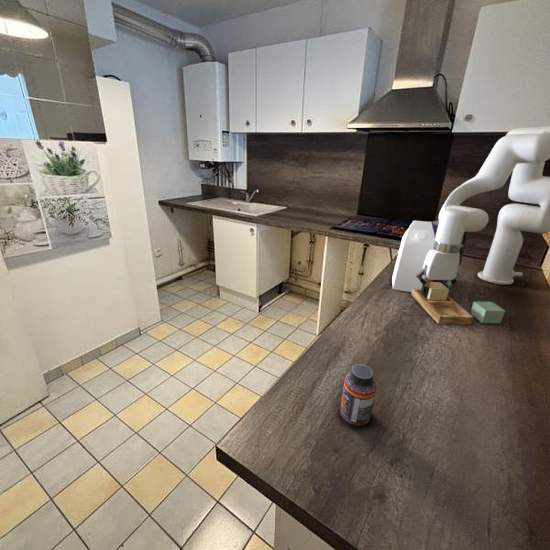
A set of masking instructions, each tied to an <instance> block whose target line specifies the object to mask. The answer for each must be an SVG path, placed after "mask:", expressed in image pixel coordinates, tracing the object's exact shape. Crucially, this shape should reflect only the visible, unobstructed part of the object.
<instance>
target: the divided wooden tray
mask: <svg viewBox="0 0 550 550" xmlns="http://www.w3.org/2000/svg"><path fill="white" fill-rule="evenodd" d="M410 293H411V294H410V295H411V296H412V297H413V299H414V300H415V301H416V302H417V303H418V304H419V305H420V306H421V307H422V308H423V309H424V311H426V312H427V314H428V315H429V316H431V318H432V319H433V320H434V321H435V322H436V323H437V324H438V325H439V324H440V325H472V324H473V322H474V318H475V317H474V316H473V315H472V314H470V312H469V311H467V310H466V309H465V308H463V307H462V306H461V305H460V304H459V303H458V302H456V300H454V299H453V298H452V297H451V296H449V294H448V295H447V299H446V301H431V300H428V299H427V298H426V297H424V296H423V295H422V294H421V289H412V292H410Z"/></svg>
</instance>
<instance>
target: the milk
mask: <svg viewBox="0 0 550 550" xmlns="http://www.w3.org/2000/svg"><path fill="white" fill-rule="evenodd" d="M431 222H432V221H425V220H424V221H423V220H413V221H412V222H411V224H410V225H409V227H408V228H407V229H406V230H405V232H404V233H403V235H402V237H401V242H400V244H399V249H398V253H397V257H396V261H395V265H394V269H393V272H392V277H391V283H392V290H395V291H400V292H401V291H402V292H409V293H412V289H422V285H423V284H422V283H421V282H420V280H419V279H418V278H417V277H416V274H417V273H418V272H420V271H421V270H422V267H423V264H424V261H425V259H426V256H427V254H428V252H429V250H430V249H433V245H434V241H435V237H434V231H433V227H432V223H431ZM425 276H426V275H423V276H422V278H423V279H424V277H425Z"/></svg>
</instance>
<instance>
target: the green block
mask: <svg viewBox="0 0 550 550" xmlns="http://www.w3.org/2000/svg"><path fill="white" fill-rule="evenodd" d="M470 309H471V310H470V312H469V314H471V315H472V316H473V317H474V318H475V319H476V320H477V321H478V322H480V323H481V324H501V323H502V321H503V318H504V315H505V314H506V310H505V309H503V308H502V307H500V306H499V305H498V304H496V303H495V302H493V301H476V300H475V301H473V302H472V306H471V308H470Z"/></svg>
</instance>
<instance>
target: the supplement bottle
mask: <svg viewBox="0 0 550 550" xmlns="http://www.w3.org/2000/svg"><path fill="white" fill-rule="evenodd" d="M374 374H375V373H374V370H373V369H372V367H370V366H369V365H366V364H363V363H356V364H354V365H352V367H351V369H350V372H348V373H347V374H346V375H345V377H344V380H343V381H344V382H343V388H342V395H341V400H340V409H339V410H340V415H341V417H342V418H343V420H344V421H345V422H346V423H348V424H350V425H352V426H355V427H361V426H365V425H366V424H368V423H369V422H370V420H371V417H372V411H373V408H374V403H375V399H376V393H377V382H376V379H375V378H374Z"/></svg>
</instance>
